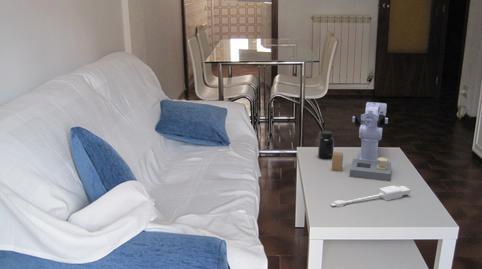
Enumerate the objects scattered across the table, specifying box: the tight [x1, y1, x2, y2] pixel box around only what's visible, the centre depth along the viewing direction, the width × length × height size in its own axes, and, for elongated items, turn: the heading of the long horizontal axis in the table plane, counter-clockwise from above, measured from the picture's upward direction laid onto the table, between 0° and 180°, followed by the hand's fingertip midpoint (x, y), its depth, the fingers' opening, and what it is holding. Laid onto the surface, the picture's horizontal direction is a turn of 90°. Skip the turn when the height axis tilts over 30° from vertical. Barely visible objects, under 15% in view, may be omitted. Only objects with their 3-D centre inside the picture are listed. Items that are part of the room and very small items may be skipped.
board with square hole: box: [349, 156, 392, 182], centre depth 206 cm, size 14×16×7 cm
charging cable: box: [329, 184, 411, 208], centre depth 180 cm, size 5×32×3 cm, turn 110°
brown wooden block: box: [331, 151, 344, 172], centre depth 210 cm, size 4×4×7 cm
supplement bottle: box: [317, 130, 335, 160], centre depth 224 cm, size 7×7×12 cm
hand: (368, 124), depth 200 cm, fingers open, 7 cm apart
